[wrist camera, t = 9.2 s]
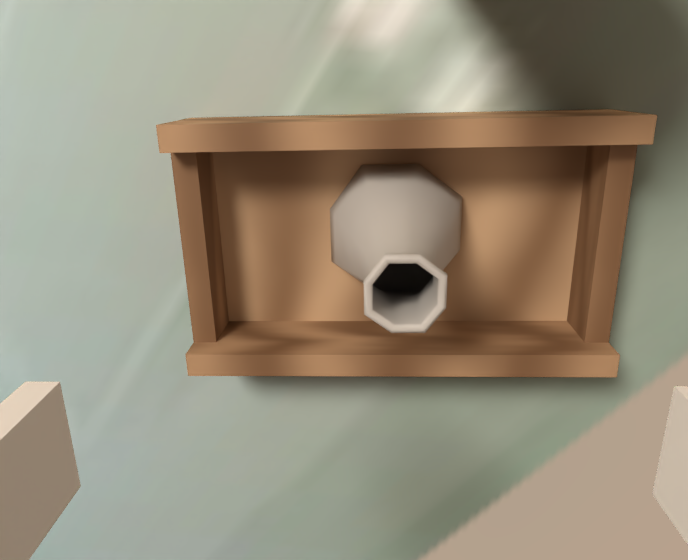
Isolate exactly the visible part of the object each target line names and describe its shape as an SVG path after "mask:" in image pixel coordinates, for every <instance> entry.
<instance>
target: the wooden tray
mask: <svg viewBox="0 0 688 560" xmlns="http://www.w3.org/2000/svg"><path fill="white" fill-rule="evenodd" d="M656 120H657V115H653V114H645V113H637V112H629V111H620V110H612V109H598V110H550V111H501V112H453V113H405V114H356V115H308V116H260V117H211V118H188V119H183V120H178V121H173V122H169V123H164V124H159V125H156V128H157V136H158V144H159V151H160V153H171V159H172V168H173V176H174V184H175V192H176V200H177V208H178V217H179V225H180V233H181V241H182V249H183V258H184V266H185V274H186V282H187V290H188V299H189V307H190V315H191V323H192V331H193V340H194V343H193V344H192V346H191V347H190V349H189V350H188V352H187V353H186V362H187V370H188V376H411V377H617V371H618V365H619V359H620V355H619V354H618V353H617V351H616V350H615V349H614V348H613V347H612V346H611V345H610V344H609V337H610V330H611V323H612V317H613V310H614V303H615V296H616V289H617V282H618V276H619V269H620V262H621V255H622V248H623V241H624V235H625V228H626V221H627V214H628V207H629V200H630V194H631V187H632V180H633V173H634V166H635V159H636V153H637V146H638V145H642V144H653V139H654V133H655V126H656ZM375 164H419V165H421V166H422V167H423V168H425V169H426V170H427V171H429V172H430V173H431V174H433V175H434V176H435V177H437V178H438V179H439V180H441V181H442V182H443V183H445V184H446V185H447V186H449V187H450V188H451V189H453V190H454V191H455V192H457V193H458V194H459V195H461V196H462V214H461V236H460V250H459V252H458V253H457V254H456V255H455V256H454V258H453V259H452V260H451V261H450V263H449V264H448V265H447V266H446V267H445V269H444V270H443V271H444V272H446V273H447V301H446V309H445V310H444V311H443V312H442V313H441V315H440V316H439V317H438V318H437V319H436V321H435V322H434V323H433V324H432V325H431V326H430V328H429V329H428V330H427V331H426V332H425V333H391V332H389V331H388V330H386V329H385V328H383V327H382V326H380V325H379V324H377V323H376V322H374V321H373V320H371V319H370V318H369V317H367V316H366V315H364V284H363V283H362V282H361V281H359V280H358V279H356V278H355V277H353V276H352V275H350V274H349V273H348V272H346V271H345V270H343V269H342V268H340V267H339V266H337V265H336V264H335V263H333V262H332V261H331V231H330V208H331V207H332V206H333V204H334V203H335V201H336V200H337V199H338V197H339V196H340V194H341V193H342V192H343V190H344V189H345V187H346V186H347V185H348V183H349V182H350V181H351V179H352V178H353V176H354V175H355V174H356V172H357V171H358V169H359V168H360V167H361V165H375Z"/></svg>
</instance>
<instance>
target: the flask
mask: <svg viewBox="0 0 688 560" xmlns="http://www.w3.org/2000/svg"><path fill="white" fill-rule="evenodd" d="M461 214H462V196H461V195H459V194H458V193H457V192H455V191H454V190H453V189H451V188H450V187H449V186H447V185H446V184H445V183H443V182H442V181H441V180H439V179H438V178H437V177H435V176H434V175H433V174H431V173H430V172H429V171H427V170H426V169H425V168H423V167H422V166H421V165H419V164H375V165H361V167H360V168H359V169H358V171H357V172H356V174H355V175H354V176H353V178H352V179H351V181H350V182H349V183H348V185H347V186H346V187H345V189H344V190H343V192H342V193H341V194H340V196H339V197H338V199H337V200H336V201H335V203H334V204H333V206H332V207H331V208H330V231H331V261H332V262H333V263H335V264H336V265H337V266H339V267H340V268H342V269H343V270H345V271H346V272H348V273H349V274H350V275H352V276H353V277H355V278H356V279H358V280H359V281H361V282H362V283H363V284H364V315H366V316H367V317H369V318H370V319H371V320H373V321H374V322H376V323H377V324H379V325H380V326H382V327H383V328H385V329H386V330H388V331H389V332H391V333H425V332H426V331H427V330H428V329H429V328H430V326H431V325H432V324H433V323H434V322H435V321H436V319H437V318H438V317H439V316H440V315H441V313H442V312H443V311H444V310H445V309H446V301H447V273H446V272H444V271H443V270H444V269H445V267H446V266H447V265H448V264H449V263H450V261H451V260H452V259H453V258H454V256H455V255H456V254H457V253H458V252H459V250H460V236H461Z"/></svg>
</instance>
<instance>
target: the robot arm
mask: <svg viewBox="0 0 688 560" xmlns="http://www.w3.org/2000/svg"><path fill="white" fill-rule="evenodd" d="M80 486H81V485H80V480H79V475H78V470H77V465H76V460H75V455H74V450H73V445H72V440H71V435H70V430H69V425H68V420H67V415H66V410H65V405H64V400H63V395H62V390H61V385H60V382H25V383H23V384H22V385H21V386H20V387H19V388H18V389H17V390H15V391H14V392H13V393H12V394H11V395H10V396H9V397H7V398H6V399H5V400H4V401H3V402H2V403H1V404H0V560H29V559H30V557H31V556H32V554H33V553H34V552H35V550H36V549H37V547H38V546H39V545H40V543H41V542H42V540H43V539H44V537H45V536H46V535H47V533H48V532H49V530H50V529H51V528H52V526H53V525H54V523H55V522H56V520H57V519H58V518H59V516H60V515H61V513H62V512H63V511H64V509H65V508H66V506H67V505H68V503H69V502H70V501H71V499H72V498H73V496H74V495H75V494H76V492H77V491H78V489H79V488H80ZM652 494H653V496H654V497H655V499H656V500H657V502H658V503H659V505H660V506H661V507H662V509H663V510H664V512H665V513H666V515H667V516H668V517H669V518H670V520H671V522H672V523H673V525H674V526H675V528H676V529H677V530H678V532H679V533H680V535H681V536H682V538H683V539H684V540H685V542H686V543H687V545H688V386H674V390H673V395H672V400H671V405H670V409H669V415H668V419H667V424H666V429H665V435H664V439H663V444H662V449H661V454H660V459H659V464H658V469H657V473H656V478H655V483H654V488H653V493H652Z"/></svg>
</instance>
